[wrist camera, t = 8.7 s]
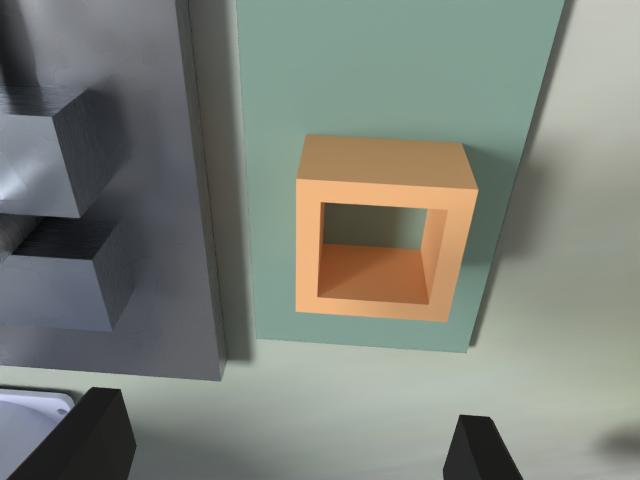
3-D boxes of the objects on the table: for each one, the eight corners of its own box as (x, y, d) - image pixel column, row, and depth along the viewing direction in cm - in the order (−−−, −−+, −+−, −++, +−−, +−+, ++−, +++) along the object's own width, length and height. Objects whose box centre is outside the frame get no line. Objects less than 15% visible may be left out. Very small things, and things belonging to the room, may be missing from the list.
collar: (436, 265, 20) (447, 322, 17) (303, 257, 20) (295, 311, 17) (461, 143, 17) (478, 189, 14) (305, 134, 17) (296, 178, 14)
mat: (465, 346, 22) (466, 353, 22) (257, 331, 23) (255, 338, 22) (561, -8, 14) (566, -6, 14) (237, -23, 15) (234, -20, 14)
